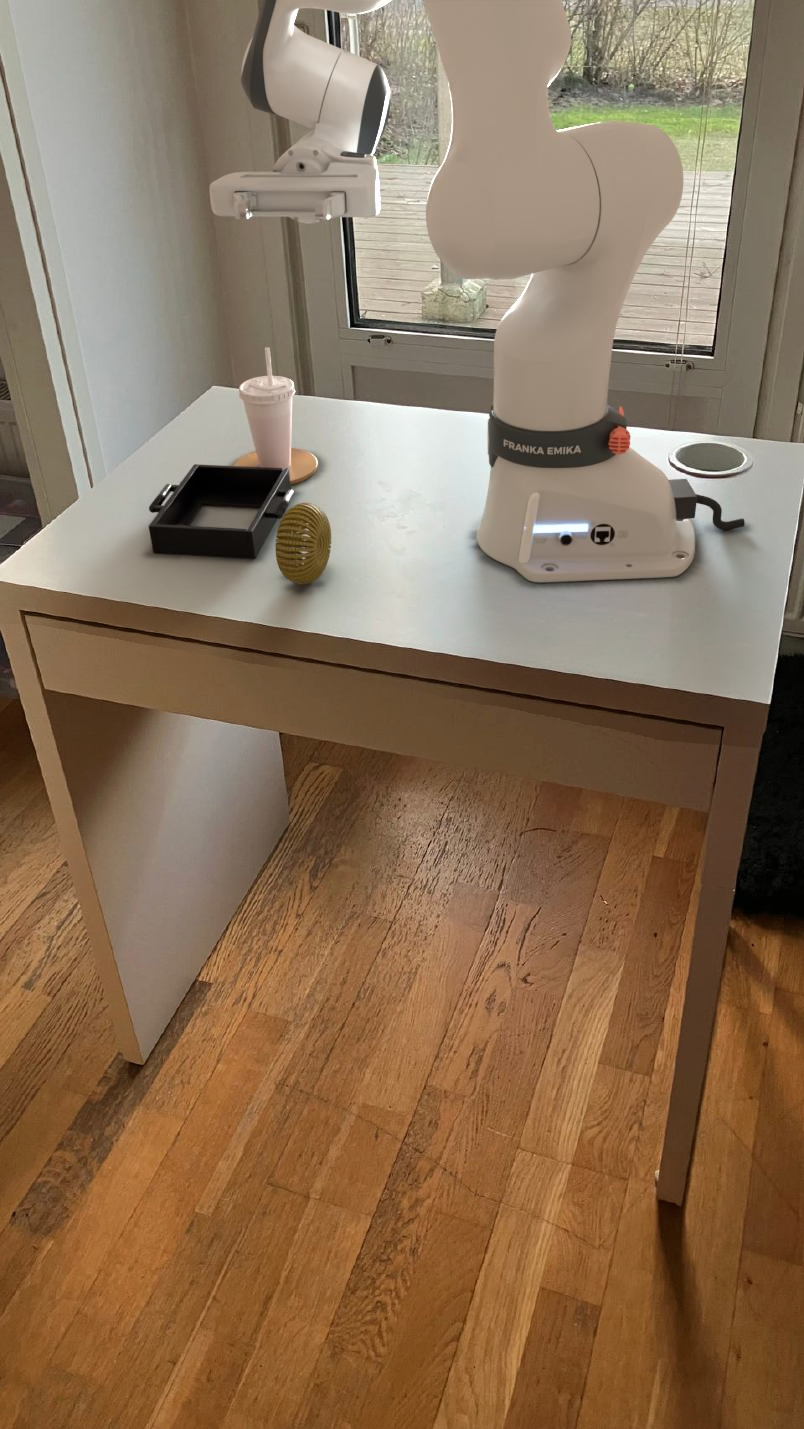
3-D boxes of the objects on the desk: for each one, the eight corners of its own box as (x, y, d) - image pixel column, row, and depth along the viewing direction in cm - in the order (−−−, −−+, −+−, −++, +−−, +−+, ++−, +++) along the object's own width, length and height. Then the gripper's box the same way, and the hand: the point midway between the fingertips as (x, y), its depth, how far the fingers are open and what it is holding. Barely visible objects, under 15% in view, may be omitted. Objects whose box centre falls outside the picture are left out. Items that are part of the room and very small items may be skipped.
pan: (307, 494, 135) (305, 468, 133) (272, 560, 123) (269, 532, 121) (182, 489, 137) (178, 463, 135) (136, 552, 125) (131, 525, 123)
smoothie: (293, 477, 137) (281, 359, 129) (240, 474, 139) (225, 357, 130) (307, 454, 142) (297, 339, 134) (256, 451, 144) (243, 337, 135)
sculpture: (303, 557, 123) (296, 487, 118) (339, 562, 122) (334, 491, 117) (273, 596, 117) (264, 523, 112) (311, 601, 116) (304, 528, 111)
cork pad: (326, 452, 144) (325, 448, 144) (306, 489, 136) (306, 485, 136) (246, 449, 145) (246, 445, 145) (223, 485, 138) (222, 481, 137)
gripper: (224, 155, 145) (189, 182, 135) (388, 155, 142) (365, 182, 131) (231, 209, 149) (196, 240, 138) (390, 210, 146) (368, 241, 135)
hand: (280, 212), depth 135 cm, fingers open, 8 cm apart
